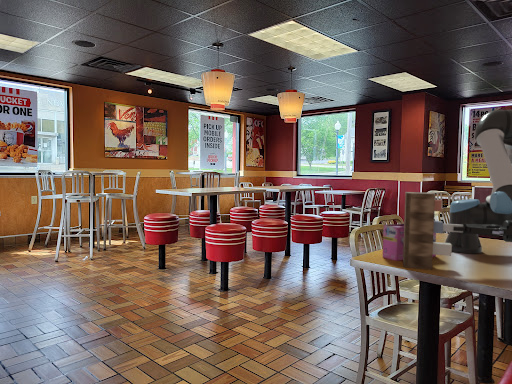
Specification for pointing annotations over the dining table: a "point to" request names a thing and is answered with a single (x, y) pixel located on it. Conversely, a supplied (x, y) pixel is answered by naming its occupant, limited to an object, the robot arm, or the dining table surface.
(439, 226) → the blue-grey rectangular block
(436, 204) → the red key
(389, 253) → the gum box
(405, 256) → the brown tall box
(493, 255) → the dining table surface
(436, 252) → the white rectangular block
